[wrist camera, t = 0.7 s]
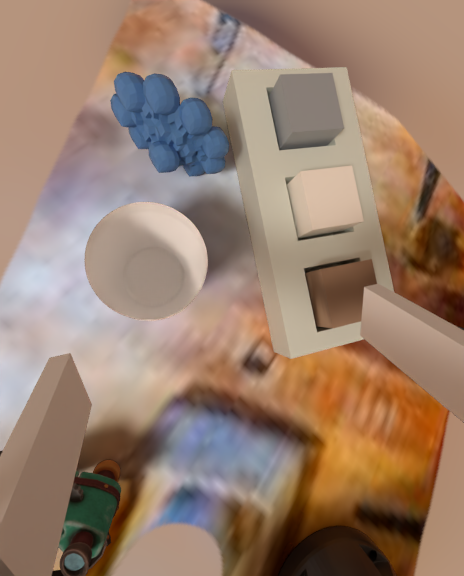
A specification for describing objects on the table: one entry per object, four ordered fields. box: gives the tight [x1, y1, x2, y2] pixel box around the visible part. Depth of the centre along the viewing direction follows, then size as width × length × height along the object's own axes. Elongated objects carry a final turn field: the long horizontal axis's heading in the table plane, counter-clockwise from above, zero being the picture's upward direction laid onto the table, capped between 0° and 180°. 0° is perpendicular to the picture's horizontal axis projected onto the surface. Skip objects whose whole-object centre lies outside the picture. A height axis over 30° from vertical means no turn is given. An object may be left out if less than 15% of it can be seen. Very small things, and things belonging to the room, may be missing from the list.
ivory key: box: [287, 166, 364, 238], centre depth 33 cm, size 6×6×4 cm
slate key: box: [268, 73, 344, 150], centre depth 33 cm, size 6×6×4 cm
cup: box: [85, 202, 208, 321], centre depth 28 cm, size 9×9×12 cm
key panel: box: [223, 67, 394, 359], centre depth 35 cm, size 31×14×5 cm, turn 12°
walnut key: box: [305, 259, 377, 328], centre depth 32 cm, size 6×6×4 cm
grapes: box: [110, 72, 229, 176], centre depth 29 cm, size 12×7×12 cm, turn 72°
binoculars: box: [52, 460, 121, 576], centre depth 26 cm, size 9×10×10 cm
